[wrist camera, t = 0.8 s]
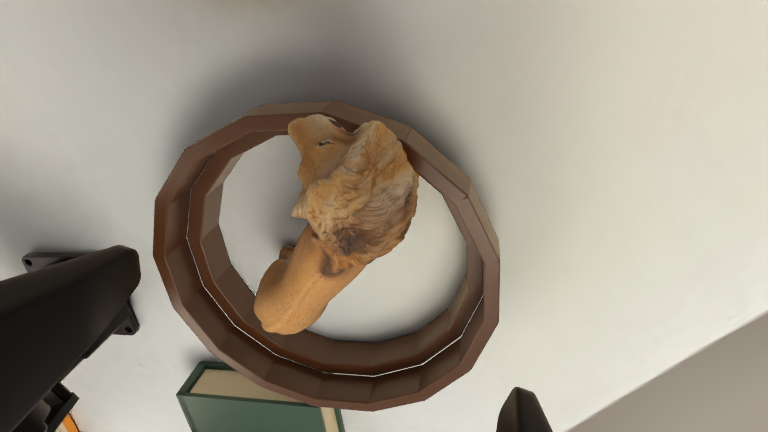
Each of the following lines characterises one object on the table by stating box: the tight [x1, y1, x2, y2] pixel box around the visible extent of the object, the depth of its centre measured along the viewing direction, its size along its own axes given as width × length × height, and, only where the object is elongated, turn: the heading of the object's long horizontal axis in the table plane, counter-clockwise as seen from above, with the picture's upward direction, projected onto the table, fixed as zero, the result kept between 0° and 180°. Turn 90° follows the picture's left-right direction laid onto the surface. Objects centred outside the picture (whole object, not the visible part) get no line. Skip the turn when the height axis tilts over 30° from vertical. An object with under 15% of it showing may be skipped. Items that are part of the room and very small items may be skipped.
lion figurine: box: [254, 114, 419, 335], centre depth 20 cm, size 15×5×9 cm, turn 156°
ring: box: [153, 100, 500, 412], centre depth 24 cm, size 17×17×4 cm
